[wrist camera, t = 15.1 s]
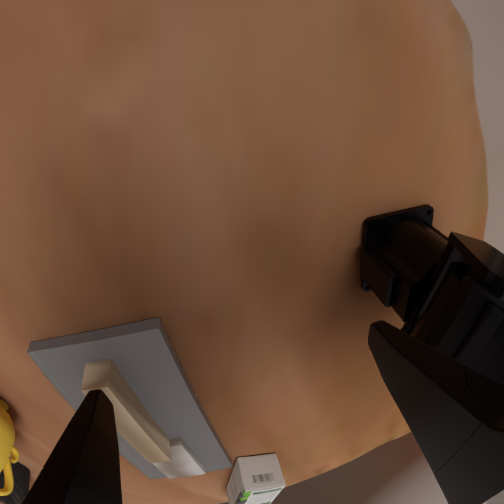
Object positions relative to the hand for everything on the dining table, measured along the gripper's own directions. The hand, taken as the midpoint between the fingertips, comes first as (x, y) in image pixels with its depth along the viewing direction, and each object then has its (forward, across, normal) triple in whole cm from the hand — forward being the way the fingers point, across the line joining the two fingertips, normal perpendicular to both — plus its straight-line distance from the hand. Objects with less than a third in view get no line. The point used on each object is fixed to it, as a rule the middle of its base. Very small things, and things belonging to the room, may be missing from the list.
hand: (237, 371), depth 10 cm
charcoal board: (+12, +11, +21) cm, 27 cm away
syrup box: (+9, +1, +35) cm, 36 cm away
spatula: (+11, +11, +21) cm, 26 cm away
